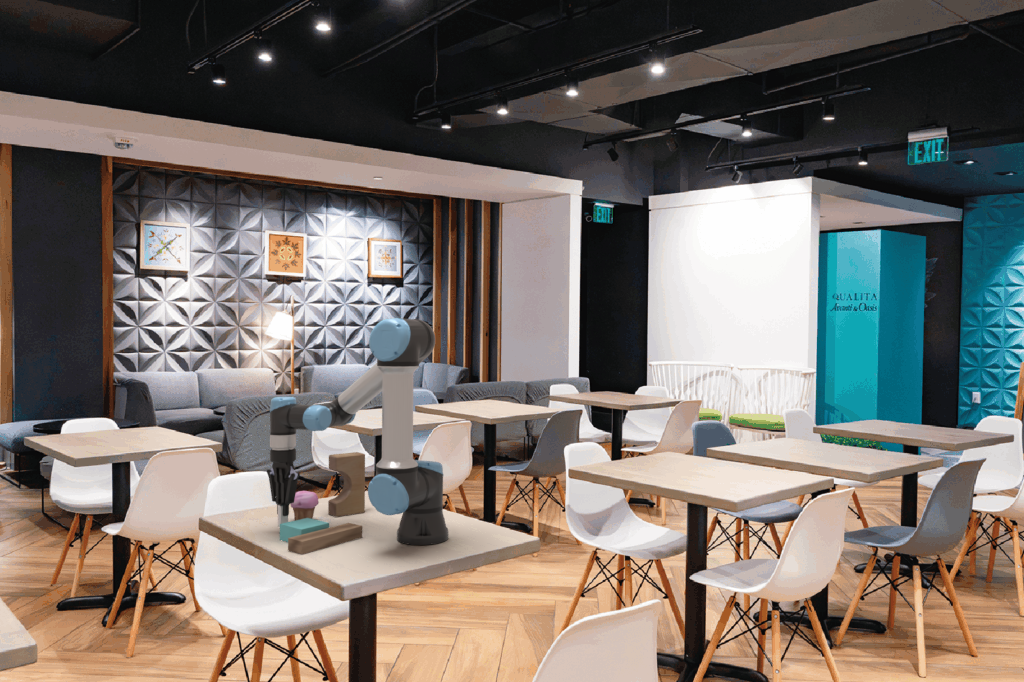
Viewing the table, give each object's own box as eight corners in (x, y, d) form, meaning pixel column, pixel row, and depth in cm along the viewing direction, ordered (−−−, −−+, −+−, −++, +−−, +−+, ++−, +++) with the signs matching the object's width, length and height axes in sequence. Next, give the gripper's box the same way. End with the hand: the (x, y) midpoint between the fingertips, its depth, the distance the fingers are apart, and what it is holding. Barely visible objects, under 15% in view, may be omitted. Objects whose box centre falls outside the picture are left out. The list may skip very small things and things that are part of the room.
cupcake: (294, 518, 247) (294, 488, 247) (320, 518, 248) (321, 488, 248) (287, 525, 238) (287, 493, 238) (314, 525, 239) (315, 493, 239)
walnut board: (362, 537, 224) (362, 525, 224) (302, 554, 207) (302, 541, 207) (348, 534, 228) (348, 522, 228) (288, 550, 210) (288, 538, 210)
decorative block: (334, 517, 249) (335, 456, 249) (327, 514, 254) (328, 454, 254) (365, 513, 256) (365, 453, 256) (357, 509, 261) (358, 451, 260)
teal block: (329, 539, 223) (329, 522, 223) (301, 547, 215) (301, 529, 215) (307, 534, 229) (307, 517, 229) (279, 541, 221) (279, 524, 221)
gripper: (307, 448, 228) (307, 526, 228) (279, 445, 236) (279, 520, 236) (286, 451, 222) (286, 531, 222) (259, 447, 230) (259, 525, 230)
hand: (282, 526), depth 229 cm, fingers closed
